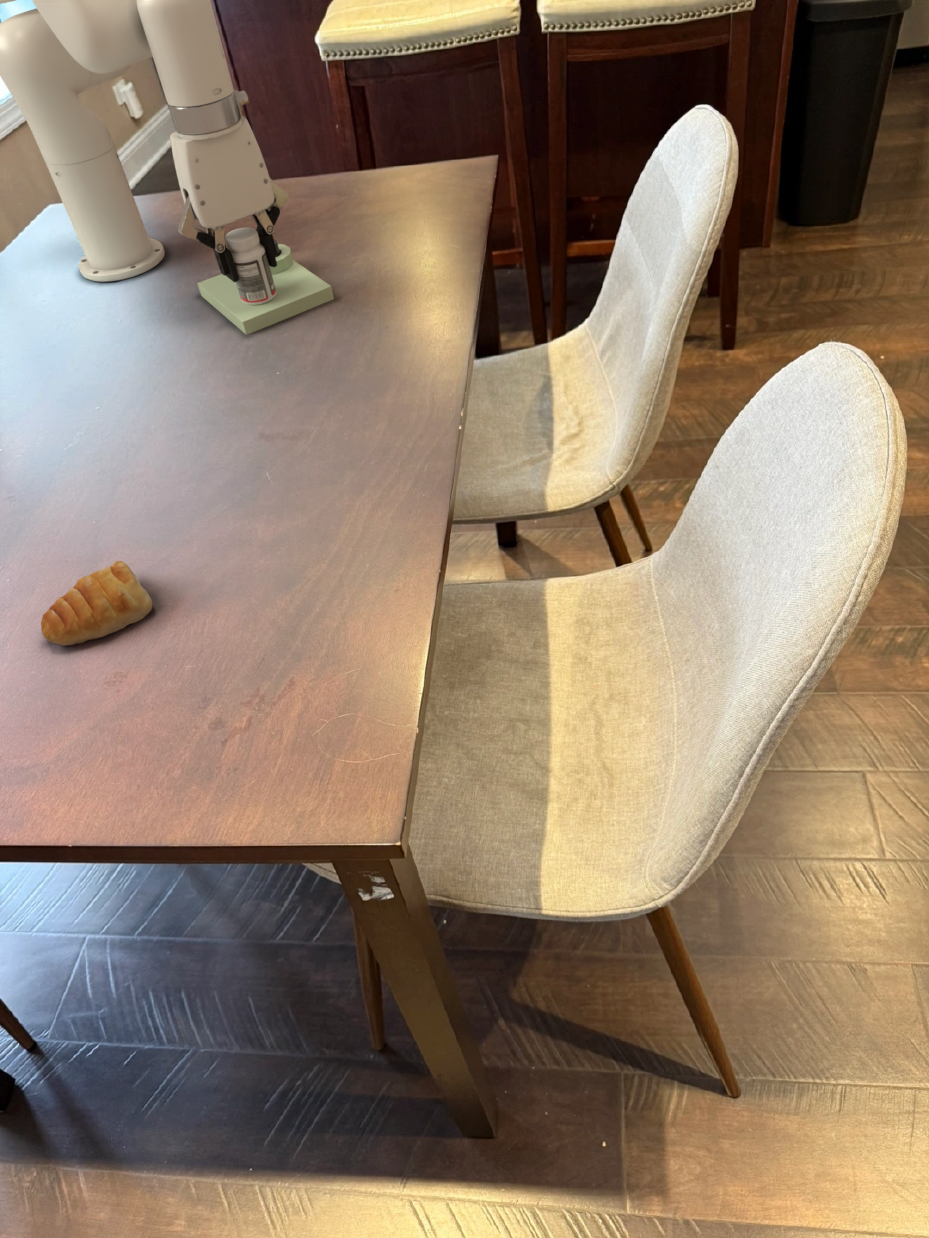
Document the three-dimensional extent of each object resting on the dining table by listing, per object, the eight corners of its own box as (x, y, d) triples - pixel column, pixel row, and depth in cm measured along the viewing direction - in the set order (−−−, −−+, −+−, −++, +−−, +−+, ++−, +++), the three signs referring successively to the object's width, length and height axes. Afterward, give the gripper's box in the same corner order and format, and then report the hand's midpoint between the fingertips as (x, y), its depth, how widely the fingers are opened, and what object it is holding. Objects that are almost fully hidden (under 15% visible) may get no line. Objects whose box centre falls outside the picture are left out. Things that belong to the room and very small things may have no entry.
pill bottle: (259, 285, 116) (241, 222, 110) (284, 293, 114) (267, 229, 108) (233, 301, 113) (214, 238, 107) (259, 309, 111) (240, 245, 105)
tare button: (253, 256, 119) (250, 244, 118) (274, 249, 120) (270, 236, 119) (263, 264, 117) (260, 251, 116) (284, 256, 119) (281, 243, 117)
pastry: (63, 666, 74) (42, 636, 71) (37, 625, 78) (16, 595, 75) (162, 610, 78) (146, 580, 75) (132, 573, 81) (116, 543, 79)
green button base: (201, 296, 120) (192, 271, 117) (284, 264, 124) (278, 240, 122) (246, 335, 111) (238, 310, 108) (334, 299, 115) (329, 274, 113)
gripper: (258, 87, 103) (296, 240, 116) (124, 129, 97) (179, 284, 110) (287, 100, 98) (322, 257, 111) (147, 144, 93) (202, 304, 106)
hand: (251, 269), depth 111 cm, fingers closed on pill bottle, 4 cm apart
